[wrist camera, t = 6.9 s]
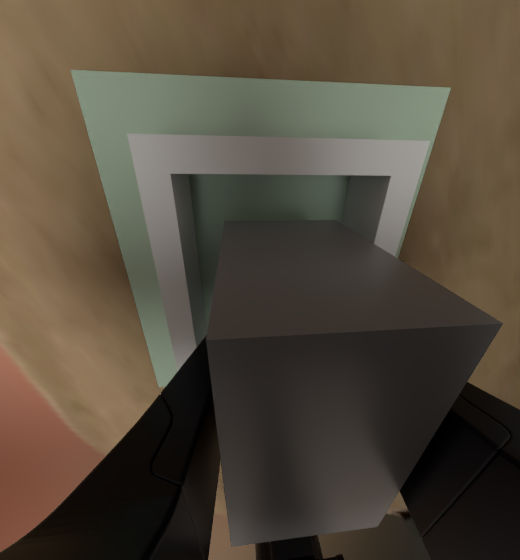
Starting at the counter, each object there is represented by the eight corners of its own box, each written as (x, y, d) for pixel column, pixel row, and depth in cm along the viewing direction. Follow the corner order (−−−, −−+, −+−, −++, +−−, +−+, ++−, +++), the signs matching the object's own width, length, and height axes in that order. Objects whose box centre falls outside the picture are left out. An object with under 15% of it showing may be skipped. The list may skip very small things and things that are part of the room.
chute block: (312, 360, 12) (377, 526, 6) (232, 365, 11) (231, 546, 6) (335, 220, 8) (503, 323, 3) (224, 221, 8) (205, 340, 3)
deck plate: (355, 361, 18) (386, 413, 14) (162, 374, 16) (143, 435, 13) (431, 93, 10) (537, 60, 7) (86, 78, 9) (-12, 26, 5)
